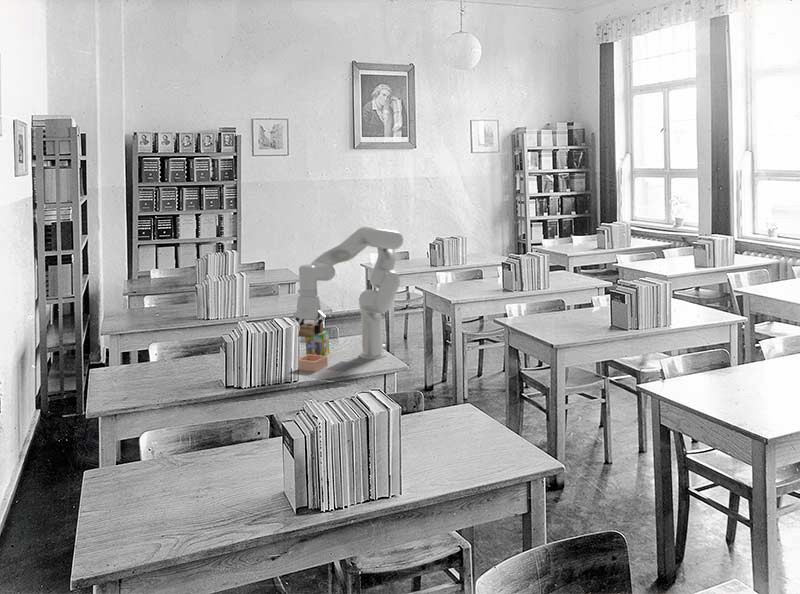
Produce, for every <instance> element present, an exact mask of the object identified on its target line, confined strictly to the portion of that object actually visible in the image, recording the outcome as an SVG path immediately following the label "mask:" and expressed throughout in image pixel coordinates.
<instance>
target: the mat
mask: <svg viewBox="0 0 800 594" xmlns="http://www.w3.org/2000/svg"><path fill="white" fill-rule="evenodd" d="M361 363H362V362H361ZM361 363H360V362H352V361H342V360H341V361H339V362H337V363H336V364H334V365H332V366H330V367H328V368H326V369H325V370H329V371H336V372H348V371H350V370H352V369H353V368H355V367H357V366H358V365H360V364H361Z"/></svg>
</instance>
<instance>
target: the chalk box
mask: <svg viewBox="0 0 800 594" xmlns="http://www.w3.org/2000/svg"><path fill="white" fill-rule="evenodd" d="M329 336H330V335H329V330H323V332H322V333H320V334H318V335H315V336H313V337H304V339H305V355H308V354H311V355H320V356H327V357H328V355H329V354H330V337H329Z"/></svg>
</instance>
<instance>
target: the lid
mask: <svg viewBox="0 0 800 594" xmlns="http://www.w3.org/2000/svg"><path fill="white" fill-rule="evenodd" d="M315 325H316V324H315V322H311V321H309V322H307V323H305V324H303V325H301V326H300V331H299V336H298V337H300V338H301V337H303V338H305V337H313V336H315V335H318V334H315ZM323 331H324V323H323V322H322V323H321V324H320V333H322V332H323ZM320 333H319V334H320Z"/></svg>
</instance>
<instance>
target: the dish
mask: <svg viewBox="0 0 800 594" xmlns="http://www.w3.org/2000/svg"><path fill="white" fill-rule="evenodd" d="M298 359H299V370H298V371H303V372H313V373H317V372H319V371H321V370H323V369H324V368H326V367H328V366H329V364H328V363H329V361H328V355H327V356H320V355H311V354H308V355H306V354H305V355H304V356H301V357H299V358H298Z"/></svg>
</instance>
